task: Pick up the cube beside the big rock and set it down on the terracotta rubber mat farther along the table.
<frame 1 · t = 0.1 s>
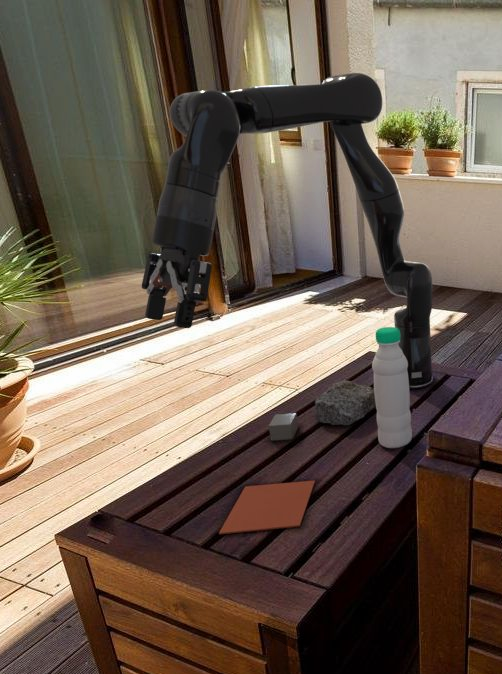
hand: (167, 323, 73), 31 cm above the table, tool tilted 20°, fingers open, 8 cm apart
cube: (285, 433, 103), on the table
rock: (347, 414, 112), on the table
water bottle: (395, 441, 100), on the table
mat: (271, 506, 80), on the table
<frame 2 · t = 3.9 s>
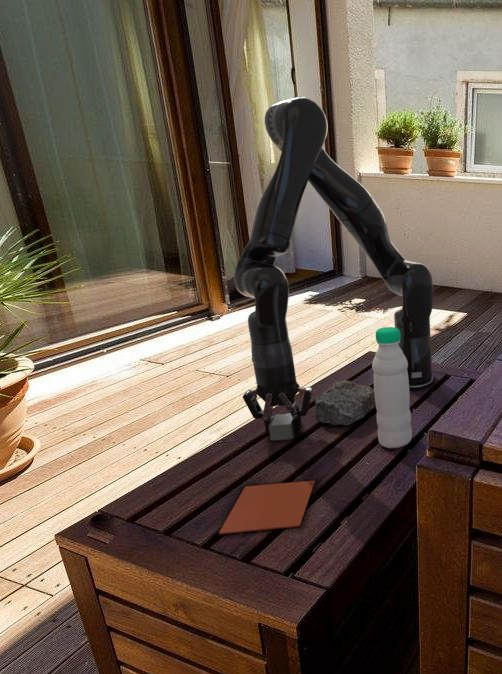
hand: (284, 432, 103), 0 cm above the table, tool pointing down, fingers closed on cube, 4 cm apart
cube: (285, 433, 103), on the table, touching gripper
everything else where it was.
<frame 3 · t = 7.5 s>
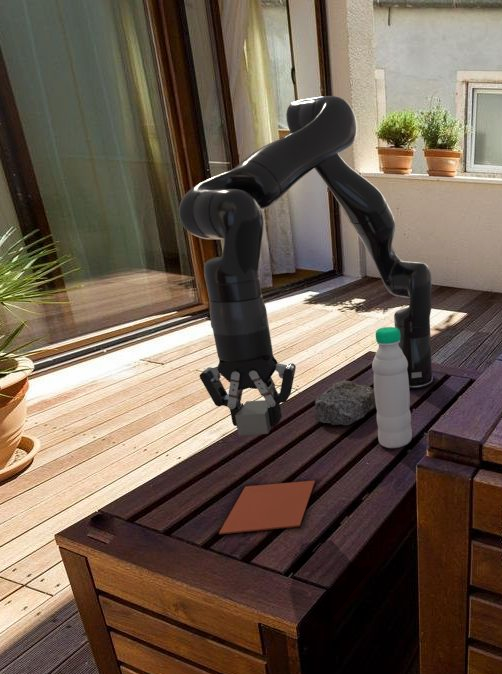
hand: (258, 425, 77), 14 cm above the table, tool pointing down, fingers closed on cube, 4 cm apart
cube: (258, 427, 77), point 14 cm above the table, touching gripper
everything else where it was.
when the fingers open (1 cm above the table, at t = 11.1 s): cube stays where it is, resting on mat.
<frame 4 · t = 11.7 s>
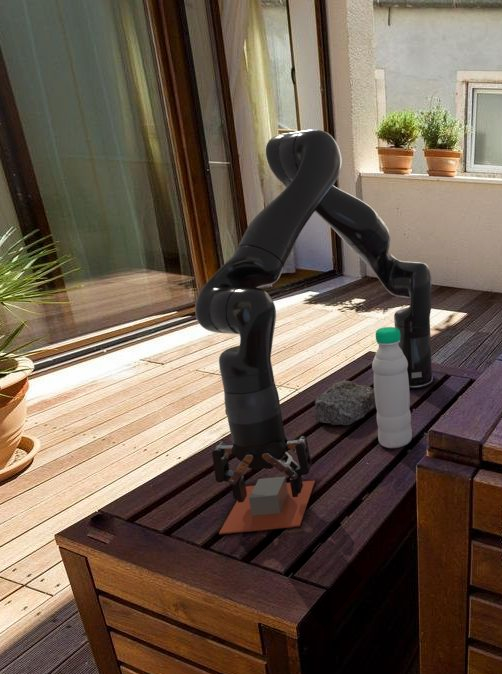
hand: (269, 496, 79), 2 cm above the table, tool pointing down, fingers open, 8 cm apart
cube: (270, 504, 80), resting on mat
everything else where it was.
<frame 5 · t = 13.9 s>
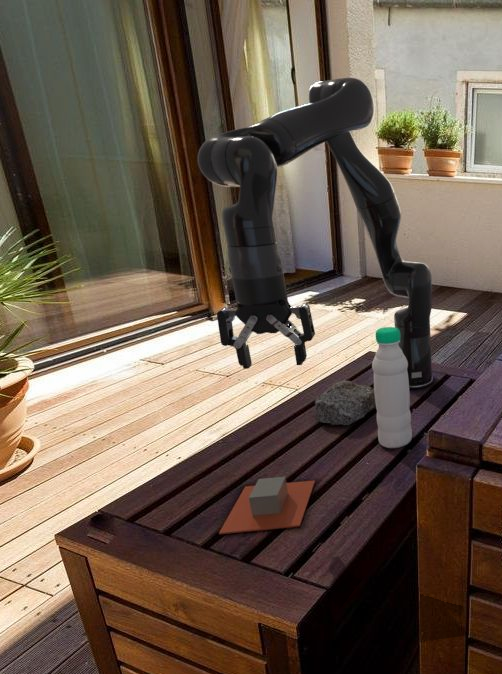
hand: (274, 365, 81), 22 cm above the table, tool pointing down, fingers open, 8 cm apart
nothing on the table moved.
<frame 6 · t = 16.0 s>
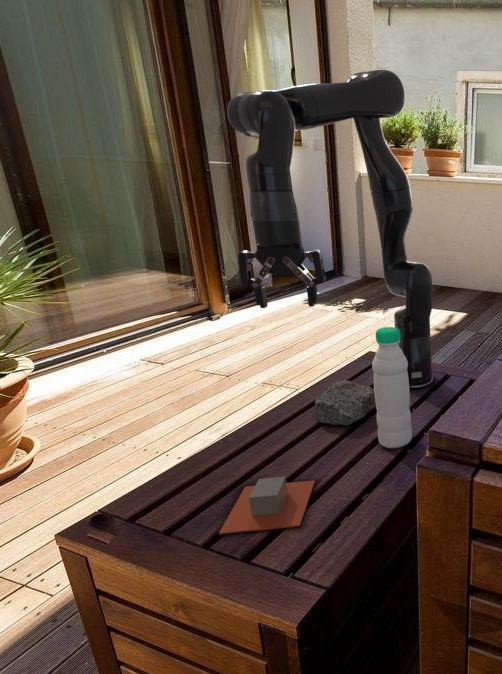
hand: (288, 306, 88), 30 cm above the table, tool pointing down, fingers open, 8 cm apart
nothing on the table moved.
at the end: cube inside the target area on the mat (0.0 cm from its centre), point 0.3 cm above the mat's base; cube moved 25.3 cm from its start; the gripper is holding nothing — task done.
